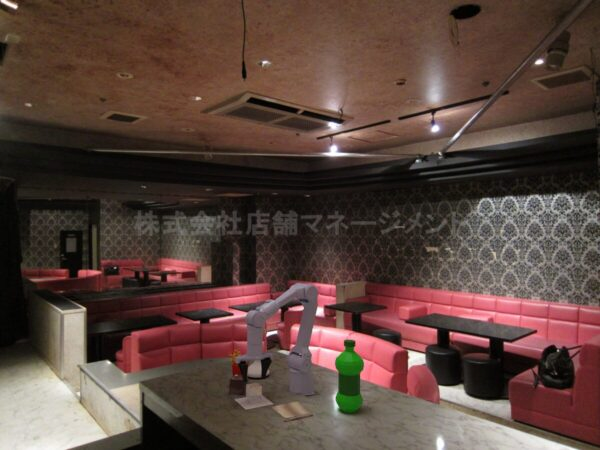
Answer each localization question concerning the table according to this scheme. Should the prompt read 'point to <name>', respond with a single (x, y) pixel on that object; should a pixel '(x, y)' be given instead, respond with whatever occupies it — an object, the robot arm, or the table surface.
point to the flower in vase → (256, 366)
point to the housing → (253, 393)
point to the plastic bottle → (349, 378)
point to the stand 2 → (292, 410)
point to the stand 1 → (247, 406)
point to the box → (237, 385)
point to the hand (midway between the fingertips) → (254, 380)
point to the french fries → (235, 366)
